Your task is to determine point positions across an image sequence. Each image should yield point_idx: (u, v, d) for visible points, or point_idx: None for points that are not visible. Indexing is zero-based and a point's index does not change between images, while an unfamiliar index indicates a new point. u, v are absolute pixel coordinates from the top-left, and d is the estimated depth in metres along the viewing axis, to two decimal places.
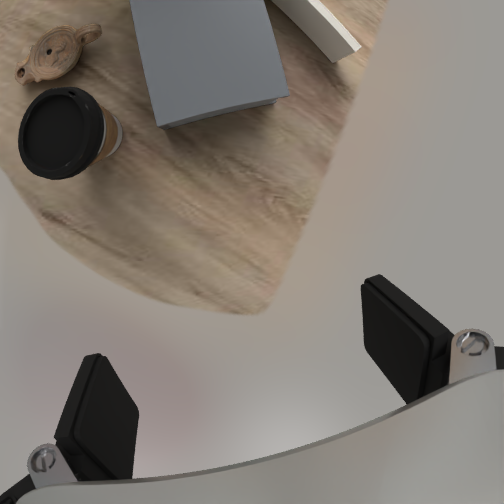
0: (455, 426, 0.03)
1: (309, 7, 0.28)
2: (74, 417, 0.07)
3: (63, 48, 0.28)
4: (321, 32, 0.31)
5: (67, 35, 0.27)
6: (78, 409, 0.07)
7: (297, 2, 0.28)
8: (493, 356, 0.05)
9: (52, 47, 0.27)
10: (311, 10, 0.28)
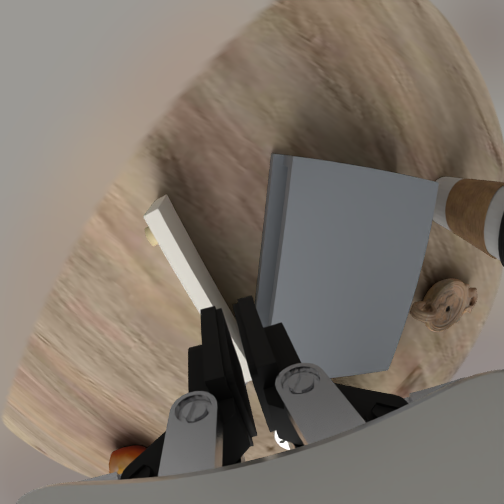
0: (455, 426, 0.03)
1: (205, 290, 0.25)
2: (221, 358, 0.08)
3: (440, 306, 0.35)
4: (186, 245, 0.26)
5: None
6: (220, 352, 0.08)
7: (214, 298, 0.27)
8: (330, 382, 0.07)
9: (444, 311, 0.36)
10: (203, 284, 0.25)
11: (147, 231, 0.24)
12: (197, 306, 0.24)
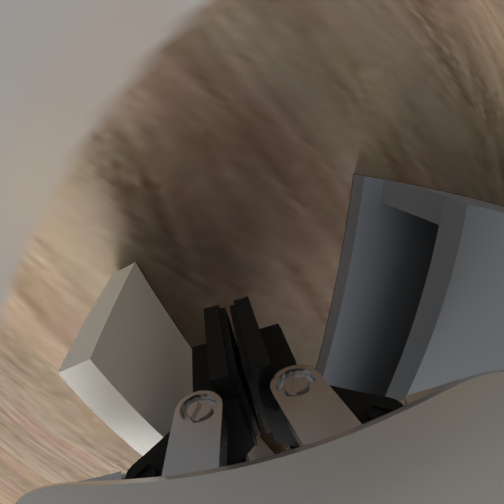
0: (455, 426, 0.03)
1: None
2: (226, 358, 0.08)
3: None
4: (182, 388, 0.11)
5: None
6: (225, 351, 0.08)
7: None
8: (325, 383, 0.07)
9: None
10: None
11: None
12: None
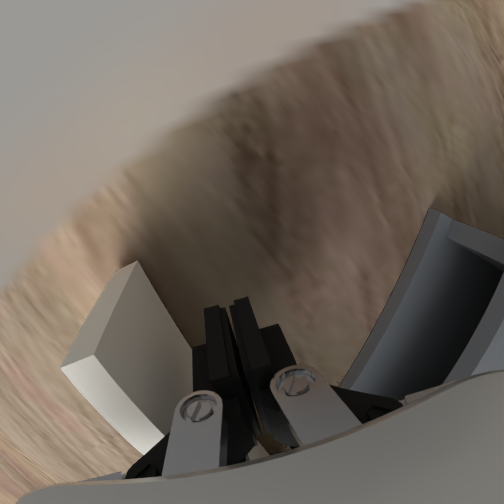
0: (455, 426, 0.03)
1: None
2: (226, 358, 0.08)
3: None
4: (182, 387, 0.11)
5: None
6: (225, 351, 0.08)
7: None
8: (325, 383, 0.07)
9: None
10: None
11: None
12: None
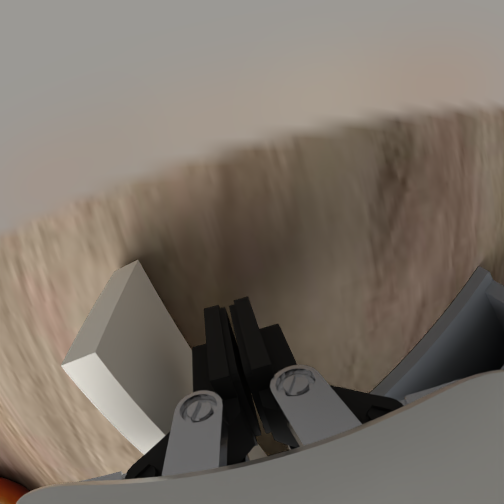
0: (455, 426, 0.03)
1: None
2: (226, 358, 0.08)
3: None
4: (181, 386, 0.11)
5: None
6: (225, 351, 0.08)
7: None
8: (325, 383, 0.07)
9: None
10: None
11: None
12: None
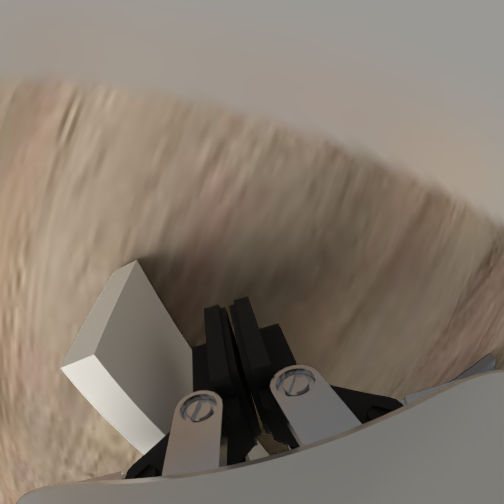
0: (455, 426, 0.03)
1: None
2: (226, 358, 0.08)
3: None
4: (182, 387, 0.11)
5: None
6: (225, 351, 0.08)
7: None
8: (325, 383, 0.07)
9: None
10: None
11: None
12: None
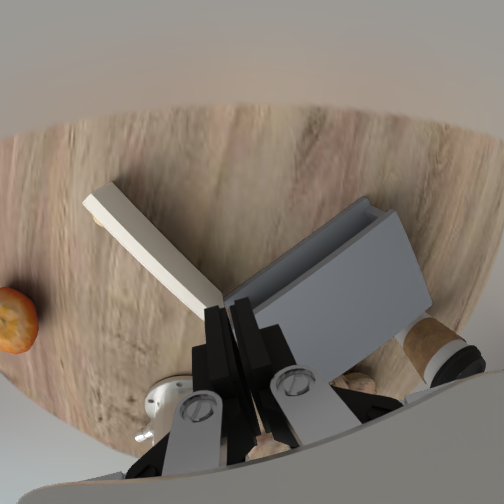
0: (455, 426, 0.03)
1: (152, 252, 0.27)
2: (226, 358, 0.08)
3: None
4: (132, 218, 0.28)
5: None
6: (225, 351, 0.08)
7: (166, 259, 0.29)
8: (325, 383, 0.07)
9: None
10: (149, 247, 0.27)
11: (94, 215, 0.26)
12: (148, 268, 0.27)
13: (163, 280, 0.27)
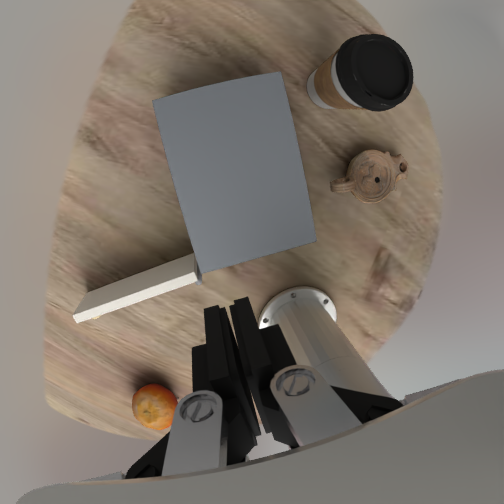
0: (455, 426, 0.03)
1: (121, 295, 0.36)
2: (225, 358, 0.08)
3: (364, 178, 0.41)
4: (104, 295, 0.38)
5: (361, 190, 0.41)
6: (225, 351, 0.08)
7: (133, 287, 0.38)
8: (325, 383, 0.07)
9: (374, 182, 0.42)
10: (118, 295, 0.37)
11: (92, 317, 0.38)
12: (127, 304, 0.36)
13: (139, 299, 0.36)
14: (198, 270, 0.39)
